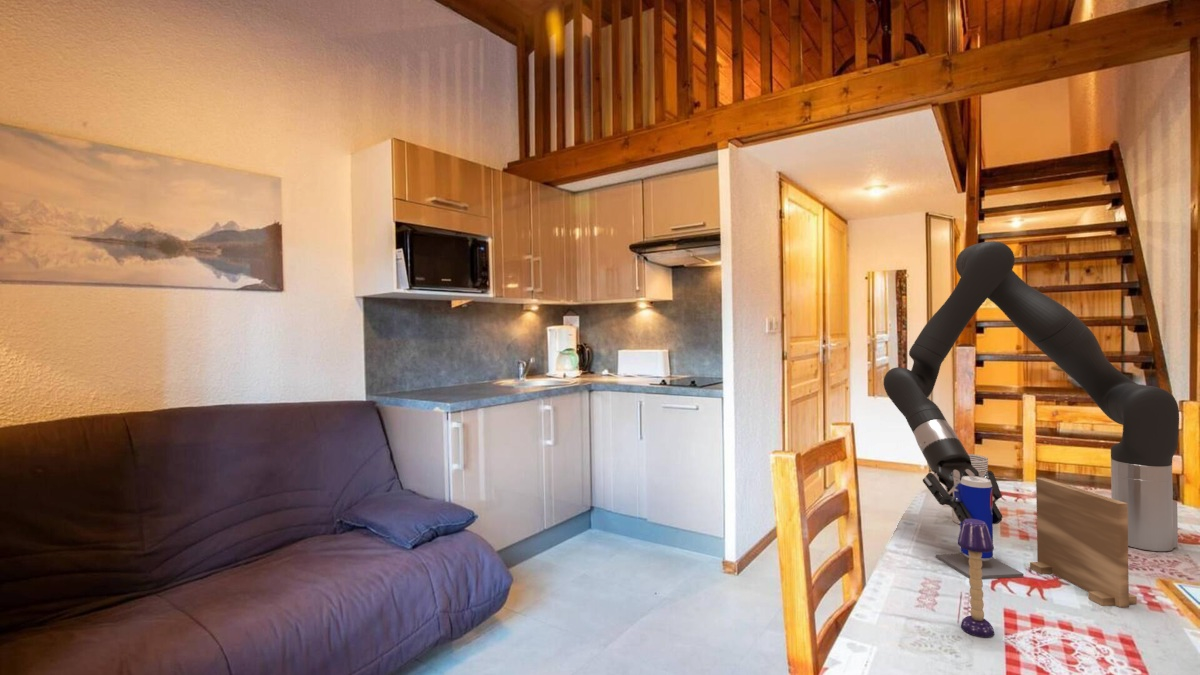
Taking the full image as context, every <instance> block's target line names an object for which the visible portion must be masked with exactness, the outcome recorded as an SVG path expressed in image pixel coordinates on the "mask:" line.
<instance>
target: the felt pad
mask: <svg viewBox="0 0 1200 675" xmlns="http://www.w3.org/2000/svg"><path fill="white" fill-rule="evenodd" d="M935 558H936V559H937V560H939V561H941V562H942V563H944V564H946V565H947V566H949V567H950V568H952V569H954V570H955V571H956V572H958V573H960V574H962V575H963V576H965V577H966V578H968V579H970V575H969V568H970V565H969V558H968V557H966V556H964V555H963V553H962V552H959V553H940V554H939V553H938V554H935ZM981 570H982V578H981V579H982V580H988V579H1009V578H1024V576H1025V575H1024V573H1023V572H1021V571H1019V570H1018V569H1016V568H1014V567H1012V566H1010V565H1008V564H1006V563H1005V562H1002V561H1000V560H999V559H997V558H995V557H994V556H993V557H992V558H991V559H990V560H987V561H982V567H981Z"/></svg>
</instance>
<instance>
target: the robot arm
mask: <svg viewBox="0 0 1200 675" xmlns="http://www.w3.org/2000/svg"><path fill="white" fill-rule="evenodd" d="M1015 258H1016V257H1015V254H1014V251H1013V250H1012V248H1011V247H1010V246H1008V244H1005V243H1004V242H1000V241H995V240H991V241H983V242H979V243H976V244H972V245H969V246H968V247H967V246H966V247H965V248H964V249H963V250H961V251H960V253H959V254H958V255H957V257H956V260H955V268H956V271H957V274H958V275H959V277H960V278H959V281H958V282H957V284H956V286H955V288H954V289H953V290H952V292H951V294H950V295H949V297H948V298H947V299H946V300H945V302H944V303H943V304H942V305H941V306H940V308H939V309H938V310H937V311H935V313H934V314H933V315H932V316H931V318H930V319H929V320H928V321H927V323H926V324H925V325H924V327H923V328H922V330H921V331H920V332H919V334H918V336H917V337H916V339H915V341H914V342H913V344H912V345H911V347H910V350H909V351H908V354H909V357H910V358H911V359H912V361H913V364H912V367H911V370H910V369H908V368H905V367H900V366H899V367H893V368H891V369H889V370H888V371H887V372H886V374H885V375H884V377H883V389H884V390H885V393H886V395H887V396H888V398H889V399H890V400H891V402H892V403H893V404H894V405H895V407H896V409H897V410H898V411H899V412H900V414H902V415H903V417H904V418H905V419H906V422H907V424H908V426H909V428H910V430H911V431H912V432H911V433H913V435H914V438H915V440H916V443H917V445H918V447H919V449H920V451H921V453H922V455H923V457H924V459H925V461H926V463H927V464H928V466H929V469H930V470H931V472H928V473H927V474H926V475H925V476H924V478H922V483H923V484H924V485H925V487H926V488H927V489H928V490H929V491H930V493H931V495H932V496H933V497H934V498H935V500H936V501H937V502H938V504H940V505H941V506H945V505H947V506H949V507H950V508H951V507H952V508H953V510H954V512H955V514H956V516H957V517H958V519H959V521H960V522H962V523H963V521H964V520H965V519H972V517H971V515H970V514H969V512H968V510H967V508H966V506H965V505H964V503H961V495H960V481H961V478H962V477H963V476H978V477H983V478H987V479H989V480H990V481H991V484H992V507H993V525H999V523H1001V522H1002V520H1003V514H1002V512H1001V511H1000V509H999V507H998V506H997V504H996V502H997V501H998V500H1000V499H1001V498H1002V496H1003V495H1002V493H1001V492H1002V491H1001V490H1000V487H999V484H998V482H997V479H996V476H995V474H994V472H993V471H992V470H987V472H986V473H984V472H978V471H977V470H976V469H975V468H974V467H973V466H972V464H971V460H970V457H969V455H968V454H969V453H968V452H967V450H966V448H965V447H964V444H962V441H961V440H960V439H959V437H958V434H957V433H956V432H955V430H954V429H953V427H952V426H951V425H950V424H949V422H948V421H947V418H946V417H945V415H944V414H943V412H942V411H941V409H940V408H939V406H938V405H937V404H936V403H935V402H934V401H933V400H931V399H930V398H929V397H930V396H931V394H932V392H933V390H934V388H935V385H936V382H937V380H938V376H939V373H940V370H941V366H942V364H943V362H944V361H945V359H946V358H947V356H948V355H949V353H950V352H951V350H952V349H953V347H954V346H955V344H956V342H957V340H958V339H959V338H960V336H961V334H962V332H963V331H964V329H965V328H966V326H967V325H968V324H969V322H970V321H971V320H972V318H973V316H974V315H976V313H977V311H978V310H979V308H981V306H983V303H984V302H985V301H986V300H987V299H988V300H989V301H991V302H992V303H993V304H995V306H996V307H998V309H999V310H1000V311H1001V312H1003V314H1004V315H1005V316H1006V317H1007V318H1008V319H1009V320H1010V321H1011V322H1012V324H1014V325H1015V327H1016V328H1018V330H1019V331H1020V332H1021V333H1022V334H1024V336H1025V337H1027V339H1028V340H1029V341H1030V342H1031V343H1033V345H1035V346H1036V347H1037V349H1039V350H1040V351H1041V353H1043V354H1044V355H1045V356H1047V357H1048V358H1049V359H1050V360H1051V361H1052V362H1053V363H1054V364H1056V366H1058V367H1059V368H1060V369H1061V370H1062V371H1064V373H1066V374H1067V375H1068V376H1069V377H1071V378H1072V379H1073V380H1074V381H1076V383H1077V384H1078V385H1079V386H1080V387H1081V388H1082V389H1083V390H1084V391H1085V392H1086V394H1087V395H1088V396H1089V397H1090V398H1091V399H1092V401H1093V402H1094V403H1095V404H1096V406H1098V408H1099V409H1100V410H1101V411H1102V413H1104V414H1105V416H1107V418H1109V420H1111V421H1113V422H1114V423H1116V424H1119V425H1122V434H1121V435H1122V437H1121V440H1120V441H1119V442H1118V443H1114V444H1113V445H1111V447H1110V482H1111V484H1110V486H1111V491H1110V492H1111V495H1110V496H1111V497H1110V498H1111V499H1115V500H1118V501H1121V502H1124V503H1127V507H1128V547H1131V548H1135V549H1138V550H1139V549H1140V550H1145V551H1151V552H1153V551H1154V552H1170V551H1172V550H1174V548H1179V540H1178V538H1179V537H1178V534H1179V533H1178V531H1179V527H1178V501H1176V500H1174V499H1173V497H1174V495H1173V486H1174V485H1173V458H1174V455H1175V454H1176V452H1177V450H1178V446H1179V432H1180V411H1179V405H1178V402H1177V399H1176V398H1175V397H1174V395H1173V394H1172V393H1170V392H1169V390H1166V389H1164V388H1161V387H1157V386H1153V385H1145V384H1138V383H1137V382H1135V381H1133V380H1132V379H1130V378H1129V377H1128V376H1126V375H1125V374H1124V373H1123V372H1121V371H1120V370H1119V369H1117V367H1115V366H1114V365H1113V364H1112V363H1111V362H1110V361H1109V360H1108V358H1107V357H1106V356H1105V354H1104V352H1103V349H1102V347H1101V345H1100V343H1099V340H1098V339H1097V338H1096V336H1095V334H1094V332H1093V331H1092V330H1091V329H1090V328H1089V327H1088V326H1087V325H1086V324H1085V323H1084V322H1083V321H1082V320H1081V319H1080V318H1079V317H1077V316H1076V315H1075V314H1074V313H1073V312H1072V311H1071V310H1069V309H1068V308H1067V307H1066V306H1064V305H1063V304H1061V303H1059V302H1058V301H1056V300H1055V299H1053V298H1052V297H1050V296H1048V295H1047V294H1044V293H1043V292H1041V291H1039V290H1037V289H1035V288H1034V287H1032V286H1030V285H1029V284H1028V283H1026V282H1025V281H1024V280H1023V279H1022V278H1020V276H1019V275H1018V274H1017V273H1016V272H1015V271H1014V270H1013V268H1014V265H1015V260H1016V259H1015ZM943 485H944V486H943ZM952 508H951V509H952Z"/></svg>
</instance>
